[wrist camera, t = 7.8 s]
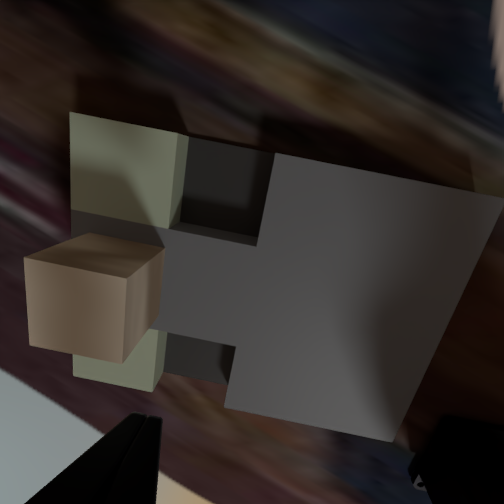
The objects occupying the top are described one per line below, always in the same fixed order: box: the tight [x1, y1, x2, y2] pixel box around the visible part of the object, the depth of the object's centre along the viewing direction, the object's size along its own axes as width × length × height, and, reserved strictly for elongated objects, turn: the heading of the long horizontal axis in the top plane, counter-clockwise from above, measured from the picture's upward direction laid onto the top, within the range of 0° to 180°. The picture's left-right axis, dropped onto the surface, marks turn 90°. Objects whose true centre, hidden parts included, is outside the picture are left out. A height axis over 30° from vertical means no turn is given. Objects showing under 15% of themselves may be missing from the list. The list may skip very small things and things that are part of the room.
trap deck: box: [70, 112, 504, 442], centre depth 16 cm, size 20×15×2 cm
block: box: [24, 232, 165, 364], centre depth 13 cm, size 4×4×4 cm
